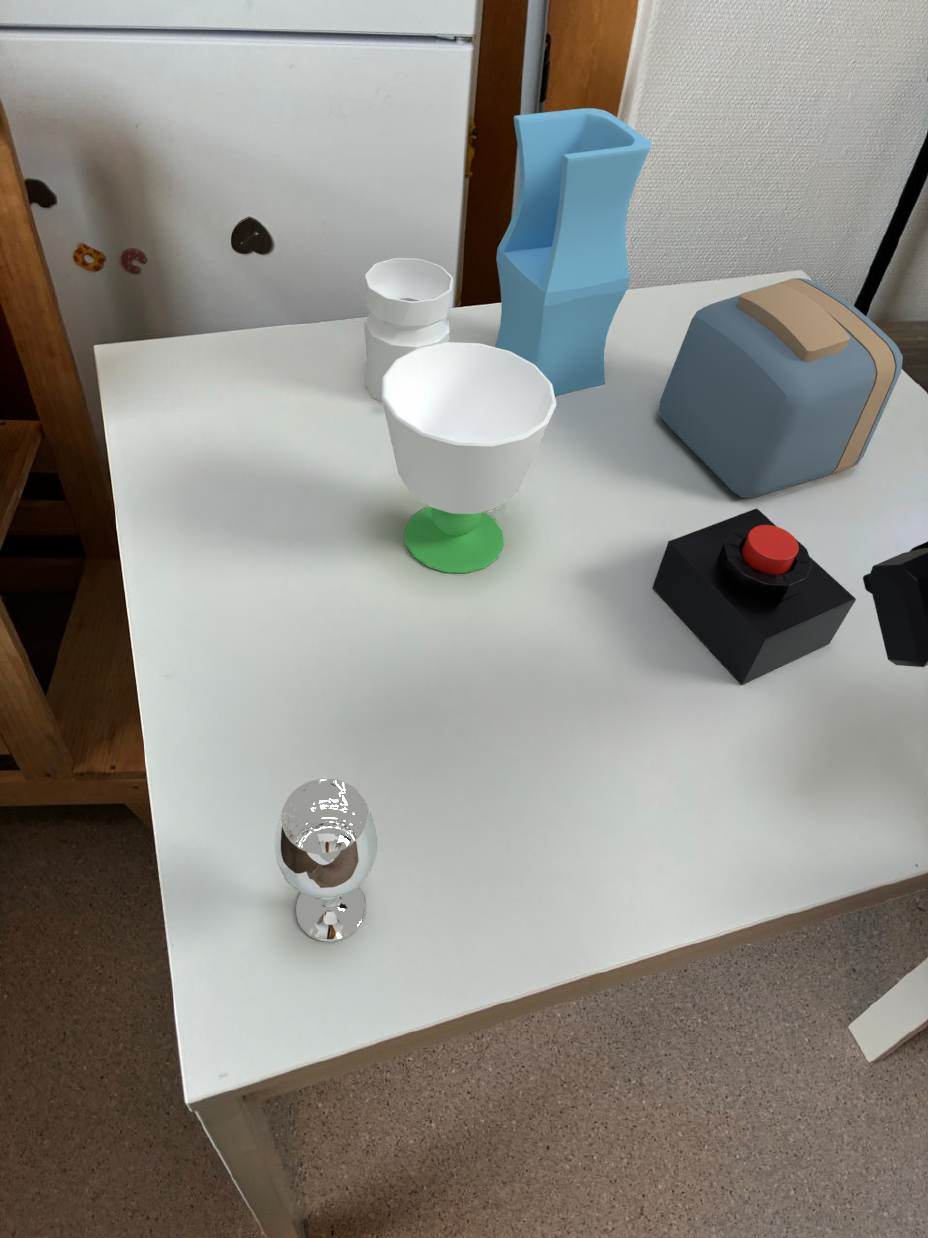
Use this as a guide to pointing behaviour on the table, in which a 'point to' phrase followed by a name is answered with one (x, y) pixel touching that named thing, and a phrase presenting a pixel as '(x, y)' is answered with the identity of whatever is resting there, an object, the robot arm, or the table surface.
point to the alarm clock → (780, 386)
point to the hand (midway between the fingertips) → (883, 574)
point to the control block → (749, 599)
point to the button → (770, 549)
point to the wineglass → (326, 855)
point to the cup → (463, 444)
